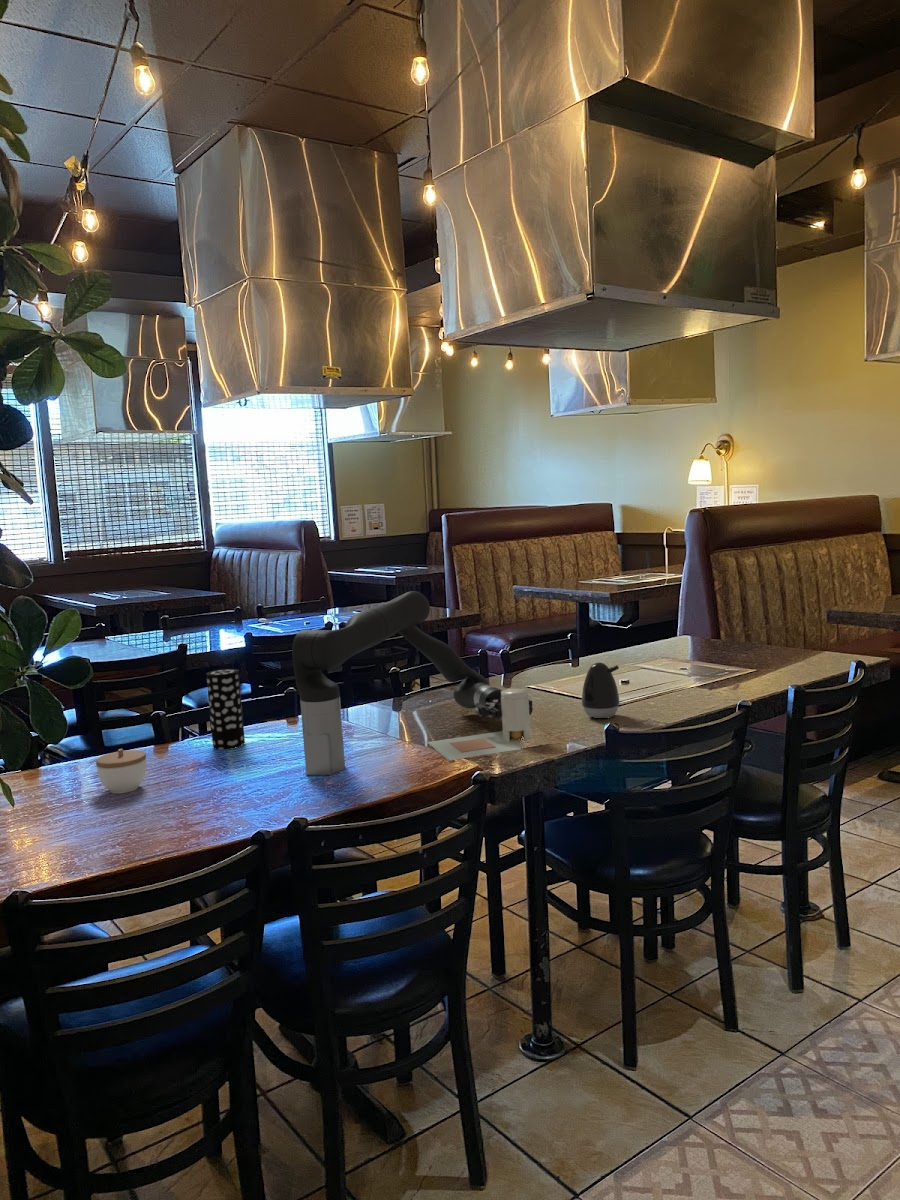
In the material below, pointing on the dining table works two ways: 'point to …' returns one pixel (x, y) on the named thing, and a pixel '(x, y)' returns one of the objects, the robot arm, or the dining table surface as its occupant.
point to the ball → (516, 734)
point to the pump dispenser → (600, 692)
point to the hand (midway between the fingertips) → (514, 712)
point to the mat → (475, 745)
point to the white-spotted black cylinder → (225, 708)
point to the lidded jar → (122, 770)
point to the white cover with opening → (515, 713)
